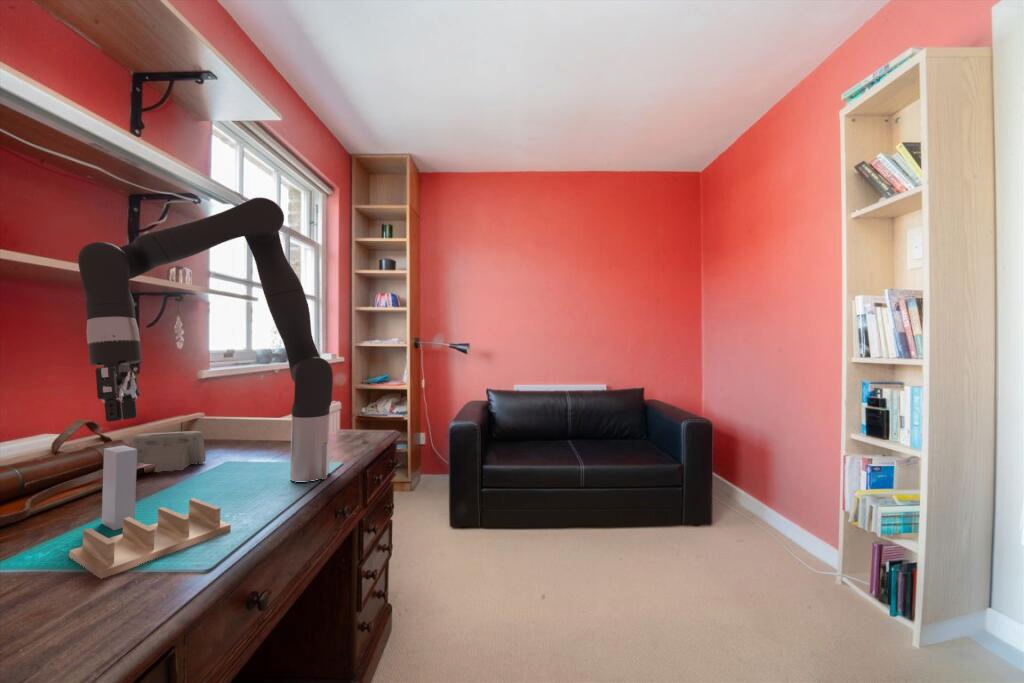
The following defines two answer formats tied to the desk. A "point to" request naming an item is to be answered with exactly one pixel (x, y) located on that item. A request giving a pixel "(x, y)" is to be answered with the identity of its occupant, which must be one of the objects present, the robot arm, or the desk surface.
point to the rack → (148, 539)
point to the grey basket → (170, 449)
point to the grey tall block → (119, 485)
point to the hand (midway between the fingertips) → (122, 419)
